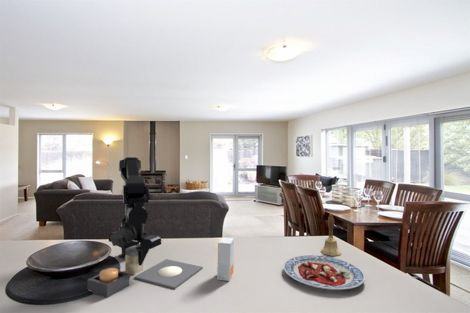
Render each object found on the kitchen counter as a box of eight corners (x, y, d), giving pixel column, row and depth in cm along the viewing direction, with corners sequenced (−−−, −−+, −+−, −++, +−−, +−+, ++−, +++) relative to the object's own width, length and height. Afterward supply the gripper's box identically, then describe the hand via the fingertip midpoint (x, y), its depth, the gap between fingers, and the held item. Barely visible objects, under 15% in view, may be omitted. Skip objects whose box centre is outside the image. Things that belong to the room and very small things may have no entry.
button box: (87, 291, 77) (87, 279, 77) (110, 279, 84) (110, 268, 84) (107, 297, 73) (107, 285, 73) (129, 285, 81) (129, 273, 81)
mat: (134, 278, 85) (134, 276, 85) (166, 260, 100) (166, 258, 100) (174, 289, 79) (174, 286, 79) (202, 268, 93) (202, 266, 93)
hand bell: (316, 251, 111) (317, 214, 111) (327, 247, 116) (327, 211, 116) (335, 257, 105) (335, 217, 105) (345, 253, 110) (345, 214, 110)
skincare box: (229, 281, 84) (230, 243, 84) (216, 280, 85) (217, 242, 85) (233, 273, 90) (234, 238, 90) (221, 272, 91) (222, 237, 91)
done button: (95, 281, 77) (95, 273, 77) (110, 274, 82) (110, 266, 82) (107, 285, 75) (107, 276, 75) (121, 278, 80) (121, 269, 80)
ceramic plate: (276, 286, 82) (276, 276, 82) (290, 256, 106) (290, 249, 106) (368, 303, 72) (368, 293, 72) (361, 267, 96) (361, 259, 96)
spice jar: (125, 272, 89) (125, 248, 89) (134, 268, 93) (134, 245, 93) (134, 274, 88) (134, 250, 88) (143, 270, 91) (143, 247, 91)
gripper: (94, 220, 87) (94, 267, 87) (138, 227, 79) (137, 279, 79) (122, 213, 97) (121, 256, 97) (162, 219, 89) (162, 265, 89)
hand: (134, 263), depth 90 cm, fingers open, 5 cm apart
